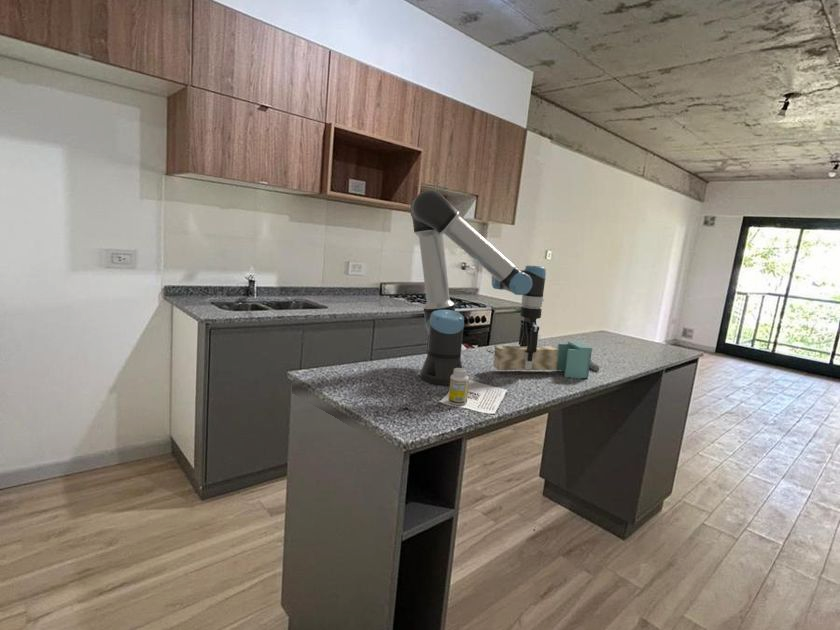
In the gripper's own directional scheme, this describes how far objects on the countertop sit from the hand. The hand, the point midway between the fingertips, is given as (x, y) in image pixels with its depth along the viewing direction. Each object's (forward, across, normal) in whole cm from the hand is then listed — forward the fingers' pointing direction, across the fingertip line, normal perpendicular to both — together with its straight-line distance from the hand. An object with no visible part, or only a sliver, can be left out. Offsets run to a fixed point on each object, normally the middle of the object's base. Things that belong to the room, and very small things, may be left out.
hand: (525, 366), depth 174 cm
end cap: (+3, 0, -19) cm, 19 cm away
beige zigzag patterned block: (+1, 0, 0) cm, 1 cm away
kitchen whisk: (+3, +21, -33) cm, 40 cm away
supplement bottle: (+2, -35, +33) cm, 48 cm away
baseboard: (+3, +21, -6) cm, 22 cm away
